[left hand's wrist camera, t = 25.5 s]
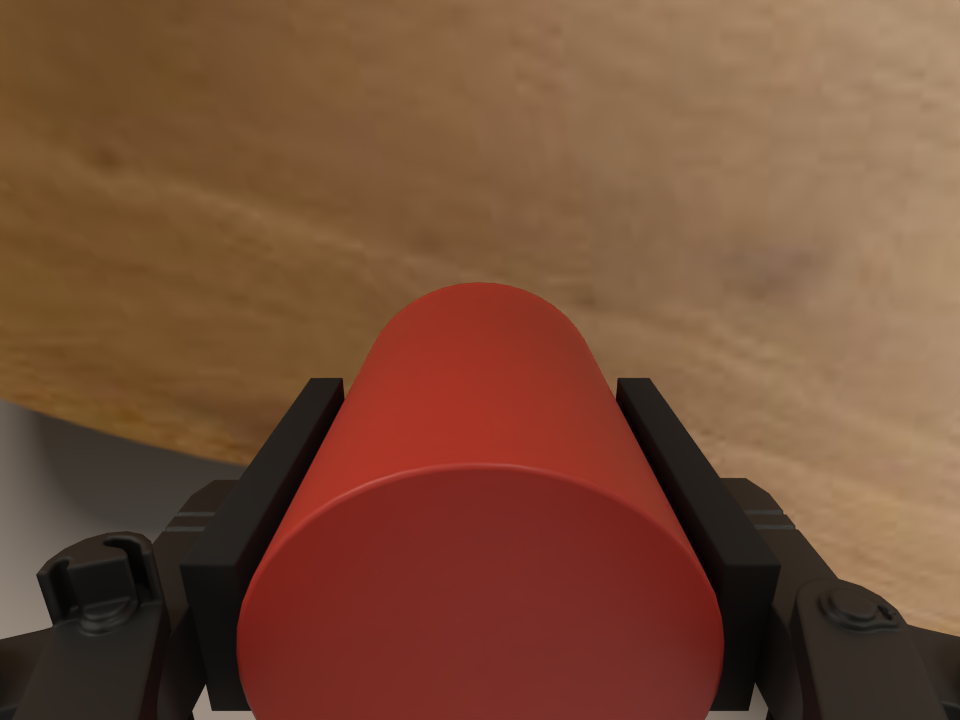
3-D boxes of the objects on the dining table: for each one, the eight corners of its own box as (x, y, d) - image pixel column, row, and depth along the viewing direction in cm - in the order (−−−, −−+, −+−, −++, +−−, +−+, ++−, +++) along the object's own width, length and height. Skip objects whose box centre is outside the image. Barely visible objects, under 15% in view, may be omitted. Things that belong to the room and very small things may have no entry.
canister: (484, 533, 18) (487, 888, 9) (315, 400, 16) (137, 683, 8) (646, 392, 16) (827, 670, 8) (475, 228, 15) (467, 351, 6)
